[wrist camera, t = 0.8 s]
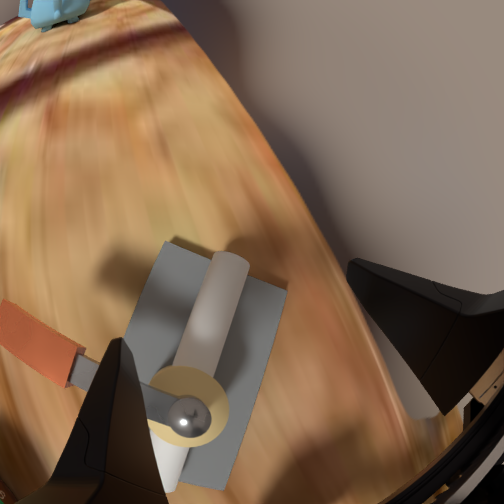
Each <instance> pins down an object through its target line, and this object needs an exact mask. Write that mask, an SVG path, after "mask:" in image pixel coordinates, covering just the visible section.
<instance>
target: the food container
mask: <svg viewBox="0 0 504 504" xmlns="http://www.w3.org/2000/svg"><path fill="white" fill-rule="evenodd" d="M16 502H18V501H17V500H16V498H15V497H14V495H13V493H12V492H11V491H10V490H9V488H8V487H7V486H6V485H5V483H4V482H3V481H2V480H1V479H0V504H14V503H16Z"/></svg>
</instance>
